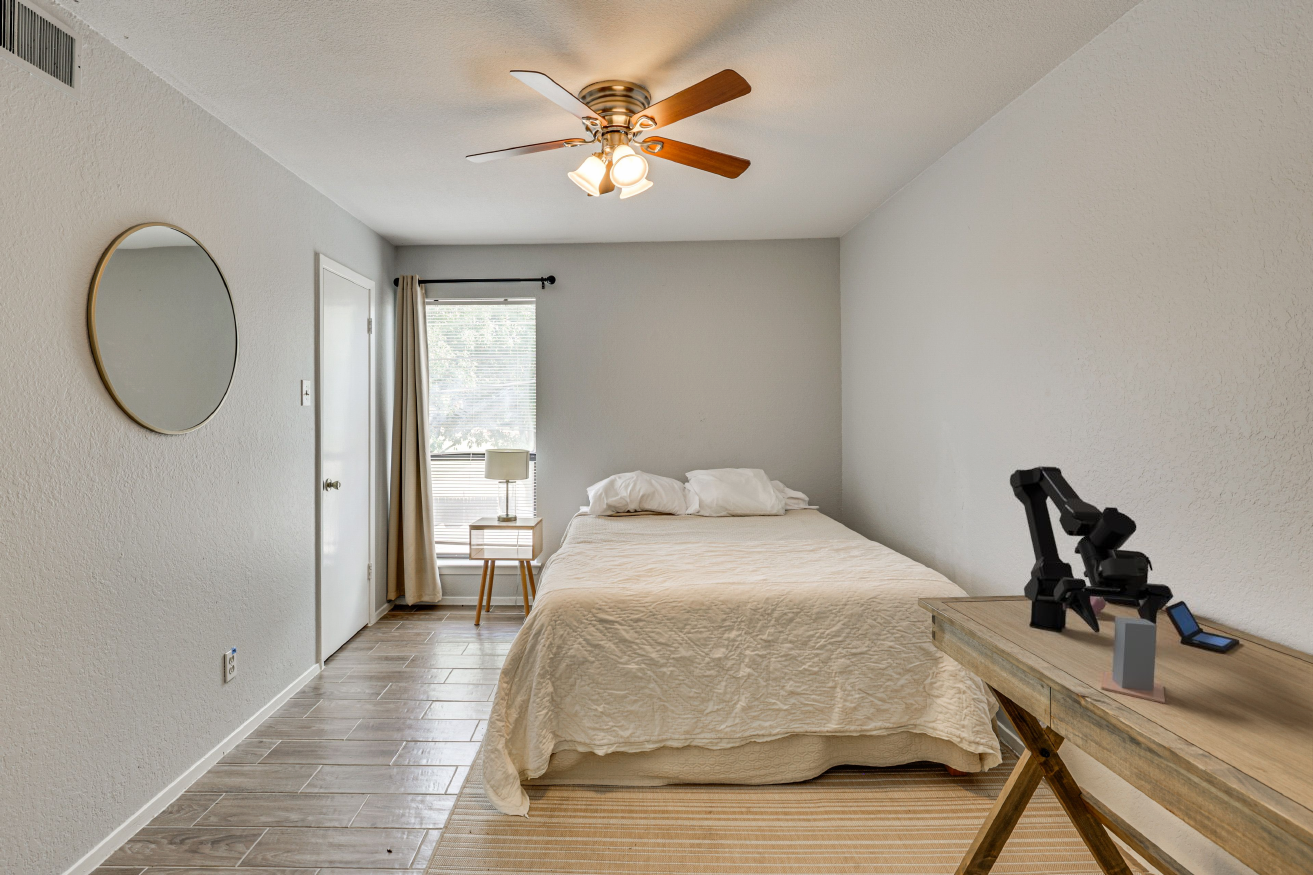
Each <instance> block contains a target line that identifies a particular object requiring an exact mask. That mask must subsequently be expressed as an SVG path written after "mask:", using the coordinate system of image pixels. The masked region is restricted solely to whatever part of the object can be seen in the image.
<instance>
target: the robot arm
mask: <svg viewBox="0 0 1313 875" xmlns="http://www.w3.org/2000/svg"><path fill="white" fill-rule="evenodd" d="M1009 485H1010V487H1011V489H1012V491H1013V494H1014V495H1013V496H1014V497H1015V498H1016V499H1017V500H1018V501H1019V502H1020V504H1022V505H1023V506H1024V507H1023V508H1024V511H1025V512H1024V513H1025V516H1026V521H1027V526H1028V530H1029V531H1028V532H1029V534H1030V535H1029V536H1030V540H1031V543H1032V544H1031V545H1032V548H1033V549H1032V550H1033V553H1034V559H1035V563H1034V564H1033V567H1032V569H1031V571H1030V579H1029V581H1028V582H1027V583H1026V585H1025V586H1024V588H1023V592H1024V593H1023V594H1024V598H1026V599H1028V600H1030V601H1031V609H1030V610H1031V612H1030V622H1029V623H1028V624H1029V626H1030V627H1033V628H1036V629H1037V628H1038V629H1042V630H1047V631H1048V630H1049V631H1054V632H1060V633H1062V632H1063V629H1066V625H1067V608H1070V610H1071V611H1073V612H1074V613H1075V614H1077V615H1078V616H1079V617H1080V618H1081V619H1082V621H1084V622H1085V624H1087V625H1088V627H1090V628H1091V630H1092V631H1093V632H1094V633H1096V634H1098V633H1100V631H1101V630H1100V626H1099V622H1098V619H1097V617H1096V615H1095V613H1094V610H1093V608H1092V605H1091V602H1090V596H1092V597H1102V599H1103V598H1115V599H1129V600H1135V603H1136V605H1137V606H1138V608H1137V610H1136V611H1137V613H1138V616H1139V617H1140V618H1139V619H1146V620H1148V621H1150V622H1152V623H1153V624H1155V625H1157V617H1158V611H1159V610H1162V609H1164V607H1165V606H1166V605H1167V604H1168V603H1170V602H1171V600H1172V599H1173V598H1174V594H1173V592H1172V589H1171V588H1170V587H1169V585H1166V584H1161V583H1152V582H1151V583H1150V582H1149V583H1148V582H1147V583H1144V584H1143V585H1142V587H1141V588H1140V589H1139V590H1134V589H1127V585H1131V583H1132V579H1131V578H1134V577H1139V575H1144V574H1147V573H1148V574H1149V571H1150V569H1149V564H1148V565H1147V562H1146V560H1145V558H1144V557H1133V558H1130V559H1120V558H1116V557H1115V554H1114V551H1113V550H1120V548H1122V546H1124V544H1125V543H1126V542H1127V541H1128V540H1129V539H1130V537H1131V536H1133V534H1134V533H1135V532H1136V530H1137V523H1136V522H1135V520H1133V519H1132V518H1131V517H1129V515H1127V514H1126V513H1123V512H1120V511H1119V509H1118V507H1109V506H1106V507H1105V508H1104V509H1103V510H1102V511H1101V510H1100V509H1099V508H1098V507H1097V506H1095V505H1093V504H1091V503H1089V502H1086V501H1084V500H1083V499H1081V497H1080V496H1079V494H1078V493H1077V491H1076V490H1074V488H1073V487H1072V485H1070V483H1069V482H1068V480H1066V478H1065V477H1064V476H1063V474H1062V470H1061V468H1059V467H1056V466H1045V465H1044V466H1041V465H1038V466H1037V467H1036V466H1035V467H1033V468H1029V469H1028V468H1027V469H1016V470H1015V471H1014V472H1013V473H1012V474H1011V475H1010V477H1009ZM1048 498H1050V500H1051V502H1052V503H1053V504H1054V505H1055V508H1056V509H1058V511H1059V513H1060V517H1059V523H1060V525H1061V528H1062V529H1063V531H1064V533H1065V534H1066V535H1067V536H1069V537H1081V538H1080V540H1079V541H1077V543H1076V544H1077V545H1076V546H1075V547H1074V554H1076V555H1080V557H1081V559H1082V560H1081V561H1082V562H1083V563H1082V564H1083V565H1084V569H1085V570H1084V571H1083V577H1084V578H1087V579H1088V582H1089V584H1090V585H1087V583H1086V580H1085V579H1083V578H1079V577H1078V578H1076V577H1075V576H1074V574H1073V569H1072V566H1071V564H1070V562H1064V561H1063V560H1062V559H1061V558H1060V555H1059V551H1058V547H1057V546H1058V545H1057V542H1056V538H1055V534H1054V529H1053V526H1052V525H1053V524H1052V521H1051V516H1050V512H1049V507H1048V503H1047V502H1048V501H1047V500H1048ZM1064 606H1066V608H1065V607H1064Z"/></svg>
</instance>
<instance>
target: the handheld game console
mask: <svg viewBox="0 0 1313 875" xmlns="http://www.w3.org/2000/svg"><path fill="white" fill-rule="evenodd" d="M1164 612H1165V613H1166V615H1167V617H1168V619H1169V621H1170V622H1171V625H1173V627H1174V629H1175V630H1176V632H1177V634H1178V635H1179V638H1180V644H1181V645H1183V646H1184V645H1185V646H1187V647H1188V646H1189V647H1192V648H1197V649H1201V650H1204V651H1209V652H1212V653H1216V654H1220V655H1221V654H1226V653H1227V652H1229V651H1231V650H1233V648H1235V647H1237V646H1238V645H1239V644H1240V640H1239V639H1238V638H1234V637H1229V636H1226V635H1221V634H1217V633H1212V632H1208V631H1204V629H1203V628H1202V627H1200V624H1199V623H1198V622H1197V620H1196V618H1195V617H1194V615H1193V612H1191V610H1190V608H1189V607H1188V605H1187V603H1185V601H1183V600H1180V601H1178V602H1175V603H1174V604H1171V605H1169V606H1166V607H1165V608H1164Z"/></svg>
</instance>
